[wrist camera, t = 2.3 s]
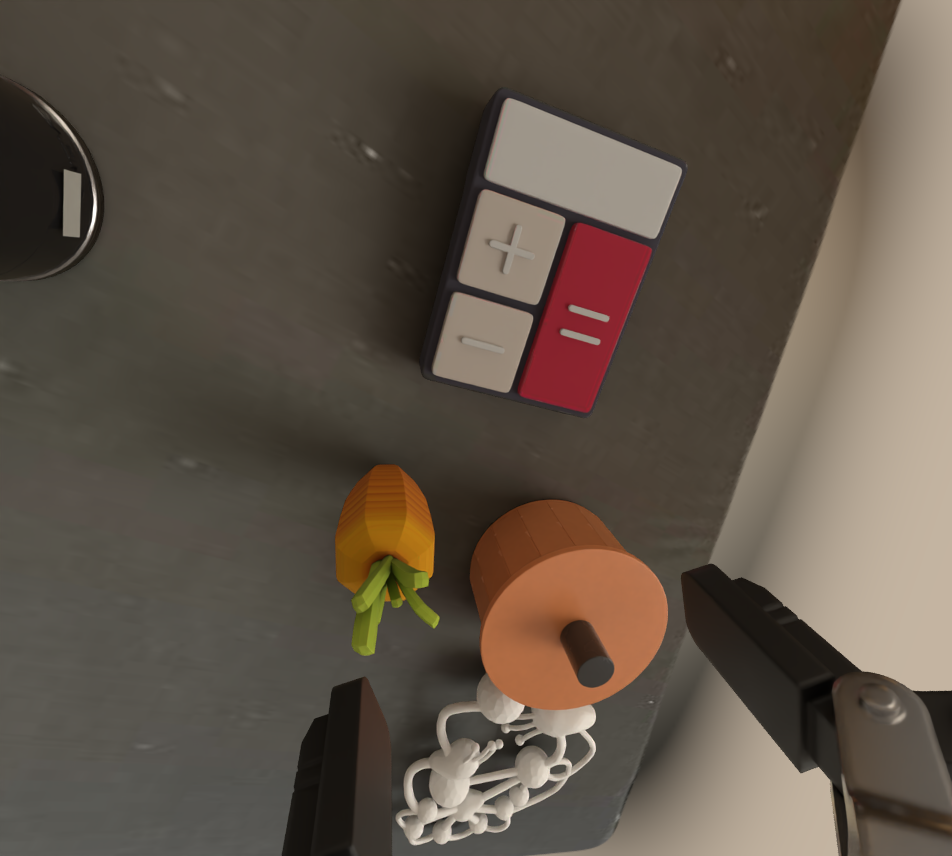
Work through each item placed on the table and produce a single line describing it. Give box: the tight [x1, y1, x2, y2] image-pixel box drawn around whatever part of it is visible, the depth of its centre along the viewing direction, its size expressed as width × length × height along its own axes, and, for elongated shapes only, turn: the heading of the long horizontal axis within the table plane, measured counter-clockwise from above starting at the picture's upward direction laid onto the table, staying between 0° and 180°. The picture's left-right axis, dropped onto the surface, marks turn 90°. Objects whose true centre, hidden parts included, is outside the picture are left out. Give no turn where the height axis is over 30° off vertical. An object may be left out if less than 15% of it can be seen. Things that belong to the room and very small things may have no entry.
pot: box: [470, 500, 626, 625], centre depth 34 cm, size 11×11×7 cm
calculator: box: [419, 87, 688, 418], centre depth 28 cm, size 11×4×15 cm
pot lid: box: [480, 545, 668, 710], centre depth 29 cm, size 12×12×4 cm
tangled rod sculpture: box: [396, 673, 596, 845], centre depth 41 cm, size 19×14×4 cm
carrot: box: [335, 464, 439, 655], centre depth 26 cm, size 5×5×15 cm
